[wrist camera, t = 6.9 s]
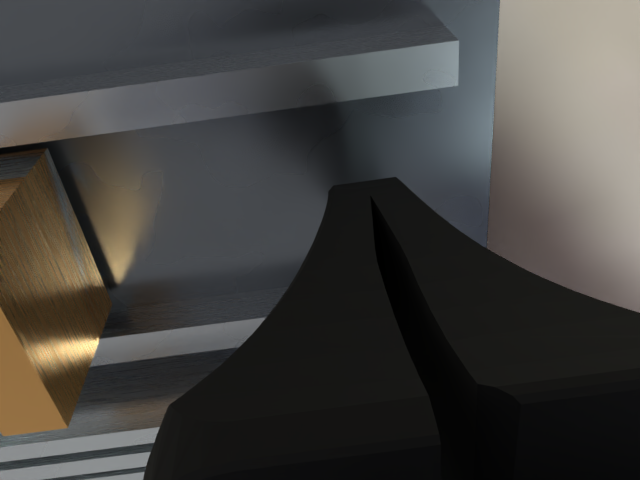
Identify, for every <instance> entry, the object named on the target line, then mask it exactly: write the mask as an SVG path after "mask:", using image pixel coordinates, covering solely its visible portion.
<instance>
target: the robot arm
mask: <svg viewBox="0 0 640 480" xmlns="http://www.w3.org/2000/svg"><path fill="white" fill-rule="evenodd" d="M143 480H640V313H638V312H634V311H631V310H628V309H625V308H622V307H619V306H616V305H613V304H610V303H606V302H603V301H600V300H597V299H594V298H592V297H589V296H586V295H584V294H581V293H578V292H575V291H573V290H570V289H568V288H566V287H563V286H561V285H558V284H556V283H554V282H551V281H549V280H547V279H544V278H542V277H540V276H538V275H535V274H533V273H531V272H529V271H527V270H525V269H523V268H521V267H519V266H517V265H515V264H514V263H512V262H510V261H508V260H506V259H504V258H502V257H501V256H499V255H497V254H495V253H493V252H492V251H490V250H488V249H487V248H485V247H483V246H482V245H480V244H479V243H477V242H476V241H474V240H473V239H471V238H470V237H468V236H467V235H465V234H464V233H462V232H461V231H459V230H458V229H457V228H455V227H454V226H453V225H452V224H450V223H449V222H448V221H446V220H445V219H444V218H443V217H441V216H440V215H439V214H438V213H436V212H435V211H434V210H433V209H432V208H430V207H429V206H428V205H427V204H426V203H425V202H424V201H422V200H421V199H420V198H419V197H418V196H417V195H416V194H415V193H414V192H412V191H411V190H410V189H409V188H408V187H407V186H406V185H405V184H404V183H403V182H402V181H400V180H399V179H398V178H397V177H391V178H384V179H377V180H369V181H362V182H355V183H348V184H340V185H333V186H332V188H331V189H330V190H329V191H328V200H327V205H326V209H325V212H324V215H323V219H322V222H321V224H320V227H319V229H318V232H317V234H316V237H315V239H314V241H313V244H312V246H311V248H310V250H309V252H308V254H307V256H306V258H305V260H304V261H303V263H302V265H301V267H300V269H299V271H298V273H297V274H296V276H295V278H294V279H293V281H292V283H291V284H290V286H289V287H288V289H287V290H286V292H285V293H284V295H283V296H282V297H281V299H280V300H279V302H278V303H277V304H276V306H275V307H274V308H273V309H272V311H271V312H270V313H269V315H268V316H267V317H266V318H265V320H264V321H263V322H262V323H261V324H260V326H259V327H258V328H257V329H256V330H255V331H254V333H253V334H252V335H251V336H250V337H249V338H248V339H247V340H246V341H245V342H244V343H243V344H242V345H241V346H240V347H239V348H238V349H237V350H236V351H235V352H234V353H233V354H232V355H231V356H230V357H229V358H228V359H227V360H225V361H224V362H223V363H222V364H221V365H220V366H219V367H217V368H216V369H215V370H214V371H213V372H212V373H210V374H209V375H208V376H206V377H205V378H204V379H203V380H201V381H200V382H199V383H197V384H196V385H195V386H194V387H192V388H191V389H190V390H188V391H187V392H186V393H185V394H183V395H182V396H181V397H179V398H178V399H177V400H175V401H174V402H172V403H171V404H170V405H169V406H168V408H167V410H166V413H165V415H164V418H163V420H162V423H161V425H160V428H159V430H158V433H157V436H156V439H155V442H154V445H153V447H152V450H151V453H150V455H149V458H148V462H147V465H146V469H145V473H144V477H143Z"/></svg>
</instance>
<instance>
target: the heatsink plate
mask: <svg viewBox="0 0 640 480" xmlns="http://www.w3.org/2000/svg"><path fill="white" fill-rule="evenodd" d="M499 6H500V0H0V154H6V153H13V152H20V151H28V150H35V149H43V148H48V150H49V153H50V155H51V158H52V160H53V162H54V165H55V167H56V170H57V172H58V175H59V177H60V179H61V182H62V184H63V187H64V189H65V191H66V194H67V196H68V199H69V201H70V203H71V206H72V208H73V211H74V213H75V215H76V218H77V220H78V223H79V225H80V227H81V230H82V232H83V235H84V237H85V239H86V242H87V244H88V247H89V249H90V251H91V254H92V256H93V259H94V261H95V263H96V266H97V268H98V271H99V273H100V276H101V278H102V280H103V283H104V285H105V288H106V290H107V292H108V295H109V297H110V300H111V302H112V307H111V309H110V312H109V315H108V318H107V321H106V323H105V326H104V329H103V332H102V334H101V337H100V340H99V343H98V346H97V348H96V351H95V354H94V357H93V360H92V362H91V365H90V368H89V371H88V373H87V376H86V379H85V382H84V385H83V387H82V390H81V393H80V396H79V399H78V401H77V404H76V407H75V410H74V413H73V415H72V418H71V421H70V424H69V426H68V428H65V429H57V430H49V431H41V432H34V433H26V434H18V435H10V436H3V435H2V434H1V432H0V480H143V477H144V473H145V469H146V465H147V462H148V458H149V455H150V453H151V450H152V447H153V445H154V442H155V439H156V436H157V433H158V430H159V428H160V425H161V423H162V420H163V418H164V415H165V413H166V410H167V408H168V406H169V405H170V404H171V403H172V402H174V401H175V400H177V399H178V398H179V397H181V396H182V395H183V394H185V393H186V392H187V391H188V390H190V389H191V388H192V387H194V386H195V385H196V384H197V383H199V382H200V381H201V380H203V379H204V378H205V377H206V376H208V375H209V374H210V373H212V372H213V371H214V370H215V369H216V368H217V367H219V366H220V365H221V364H222V363H223V362H224V361H225V360H227V359H228V358H229V357H230V356H231V355H232V354H233V353H234V352H235V351H236V350H237V349H238V348H239V347H240V346H241V345H242V344H243V343H244V342H245V341H246V340H247V339H248V338H249V337H250V336H251V335H252V334H253V333H254V331H255V330H256V329H257V328H258V327H259V326H260V324H261V323H262V322H263V321H264V320H265V318H266V317H267V316H268V315H269V313H270V312H271V311H272V309H273V308H274V307H275V306H276V304H277V303H278V302H279V300H280V299H281V297H282V296H283V295H284V293H285V292H286V290H287V289H288V287H289V286H290V284H291V283H292V281H293V279H294V278H295V276H296V274H297V273H298V271H299V269H300V267H301V265H302V263H303V261H304V260H305V258H306V256H307V254H308V252H309V250H310V248H311V246H312V244H313V241H314V239H315V237H316V234H317V232H318V229H319V227H320V224H321V222H322V219H323V215H324V212H325V209H326V205H327V200H328V191H329V190H330V189H331V188H332V186H333V185H340V184H348V183H355V182H362V181H369V180H377V179H384V178H391V177H397V178H398V179H399V180H400V181H402V182H403V183H404V184H405V185H406V186H407V187H408V188H409V189H410V190H411V191H412V192H414V193H415V194H416V195H417V196H418V197H419V198H420V199H421V200H422V201H424V202H425V203H426V204H427V205H428V206H429V207H430V208H432V209H433V210H434V211H435V212H436V213H438V214H439V215H440V216H441V217H443V218H444V219H445V220H446V221H448V222H449V223H450V224H452V225H453V226H454V227H455V228H457V229H458V230H459V231H461V232H462V233H464V234H465V235H467V236H468V237H470V238H471V239H473V240H474V241H476V242H477V243H479V244H480V245H482V246H483V247H485V248H487V232H488V213H489V194H490V175H491V156H492V138H493V119H494V100H495V81H496V62H497V44H498V25H499Z"/></svg>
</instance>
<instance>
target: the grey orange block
mask: <svg viewBox="0 0 640 480" xmlns="http://www.w3.org/2000/svg"><path fill="white" fill-rule="evenodd" d="M111 307H112V302H111V300H110V297H109V295H108V292H107V290H106V288H105V285H104V283H103V280H102V278H101V276H100V273H99V271H98V268H97V266H96V263H95V261H94V259H93V256H92V254H91V251H90V249H89V247H88V244H87V242H86V239H85V237H84V235H83V232H82V230H81V227H80V225H79V223H78V220H77V218H76V215H75V213H74V211H73V208H72V206H71V203H70V201H69V199H68V196H67V194H66V191H65V189H64V187H63V184H62V182H61V179H60V177H59V175H58V172H57V170H56V167H55V165H54V162H53V160H52V158H51V155H50V153H49V150H48V148H43V149H35V150H28V151H20V152H13V153H6V154H0V432H1V434H2V435H3V436H10V435H18V434H26V433H34V432H41V431H49V430H57V429H65V428H68V426H69V424H70V421H71V418H72V415H73V413H74V410H75V407H76V404H77V401H78V399H79V396H80V393H81V390H82V387H83V385H84V382H85V379H86V376H87V373H88V371H89V368H90V365H91V362H92V360H93V357H94V354H95V351H96V348H97V346H98V343H99V340H100V337H101V334H102V332H103V329H104V326H105V323H106V321H107V318H108V315H109V312H110V309H111Z"/></svg>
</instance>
